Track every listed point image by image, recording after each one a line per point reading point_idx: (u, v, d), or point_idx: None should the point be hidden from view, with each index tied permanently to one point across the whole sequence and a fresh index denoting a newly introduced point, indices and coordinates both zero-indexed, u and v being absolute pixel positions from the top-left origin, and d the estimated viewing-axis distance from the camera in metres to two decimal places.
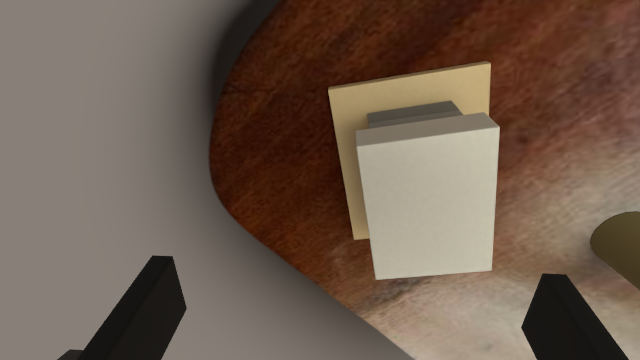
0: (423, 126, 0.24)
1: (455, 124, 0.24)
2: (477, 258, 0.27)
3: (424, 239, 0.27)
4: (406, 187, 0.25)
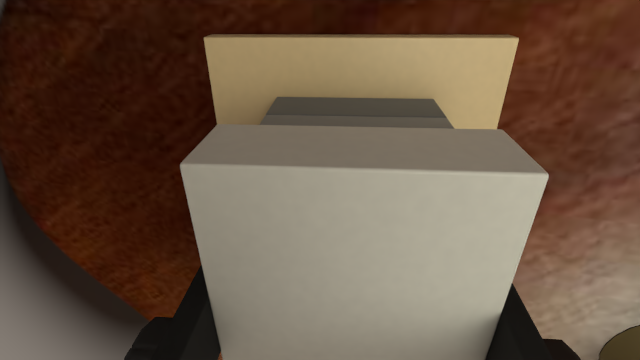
0: (362, 139, 0.10)
1: (435, 148, 0.10)
2: None
3: None
4: (303, 275, 0.10)
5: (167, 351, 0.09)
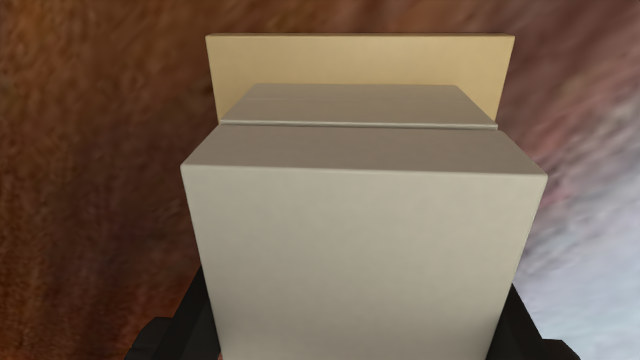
0: (362, 140, 0.10)
1: (435, 149, 0.10)
2: None
3: None
4: (303, 277, 0.10)
5: (167, 351, 0.09)
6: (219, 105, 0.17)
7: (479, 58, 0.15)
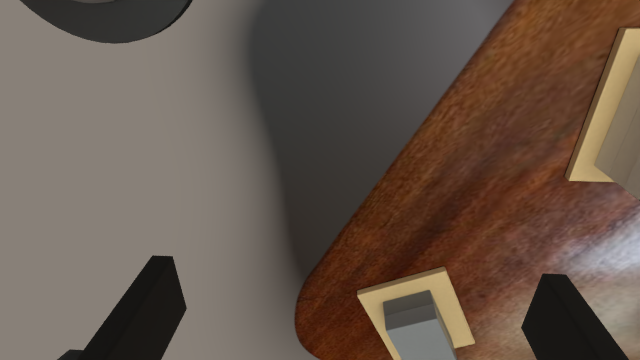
0: None
1: None
2: None
3: None
4: None
5: None
6: (615, 63, 0.34)
7: None
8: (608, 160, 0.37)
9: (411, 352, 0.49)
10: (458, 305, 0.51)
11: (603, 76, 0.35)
